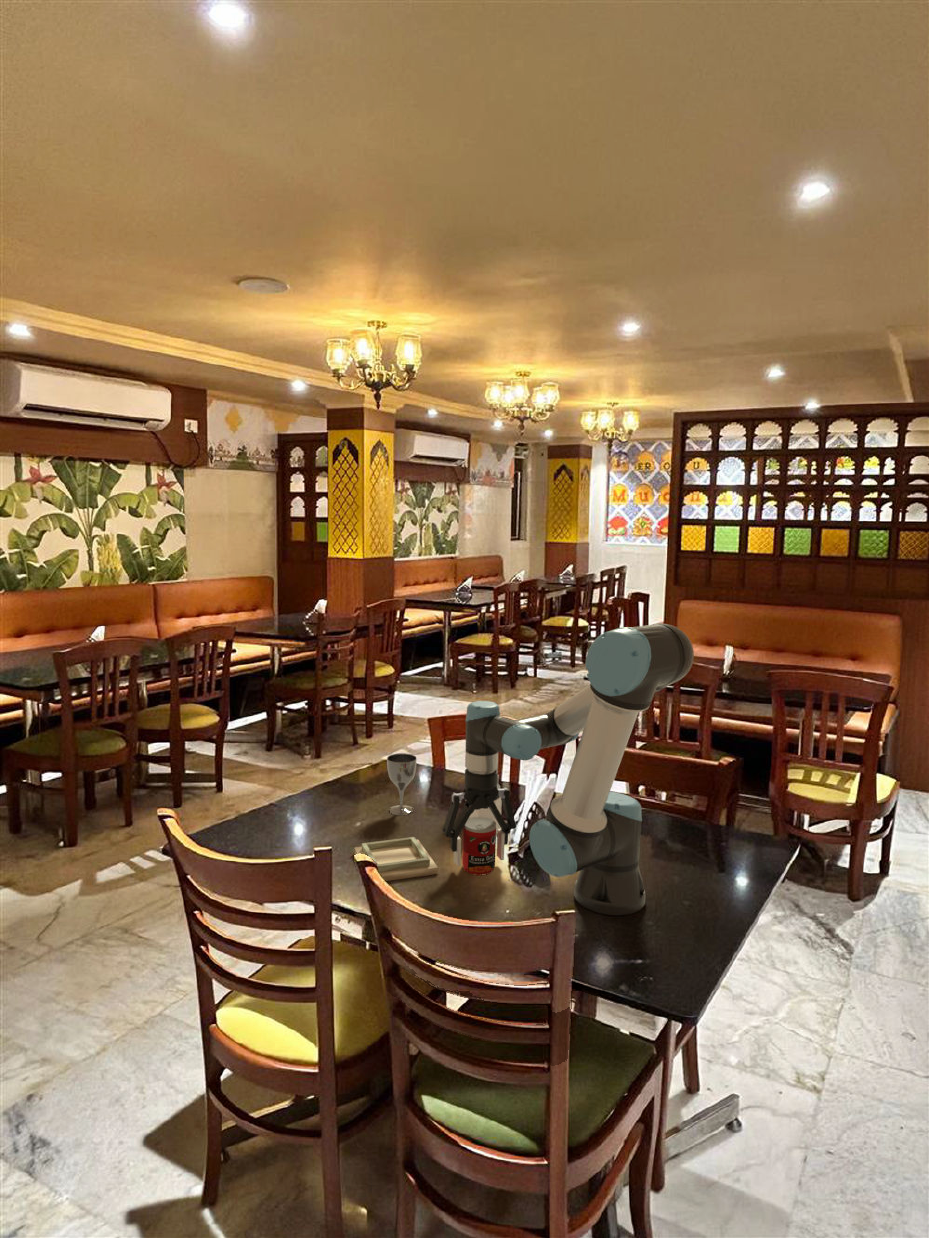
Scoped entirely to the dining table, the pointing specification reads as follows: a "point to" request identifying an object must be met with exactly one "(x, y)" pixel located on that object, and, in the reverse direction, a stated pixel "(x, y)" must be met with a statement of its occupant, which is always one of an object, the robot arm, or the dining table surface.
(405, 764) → the wine glass
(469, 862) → the canned food
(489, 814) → the jar
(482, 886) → the dining table surface
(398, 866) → the holder
